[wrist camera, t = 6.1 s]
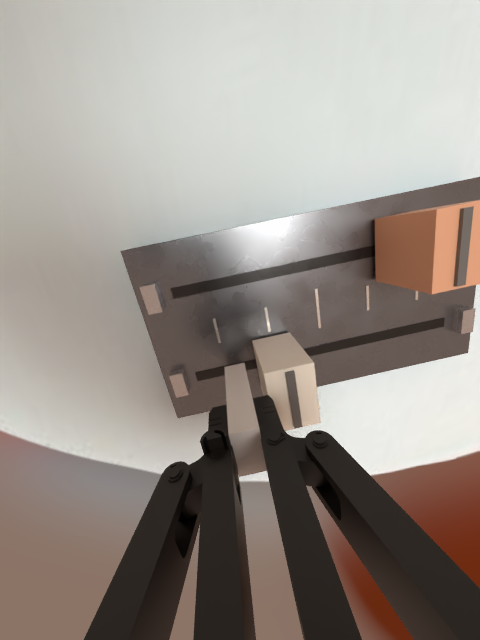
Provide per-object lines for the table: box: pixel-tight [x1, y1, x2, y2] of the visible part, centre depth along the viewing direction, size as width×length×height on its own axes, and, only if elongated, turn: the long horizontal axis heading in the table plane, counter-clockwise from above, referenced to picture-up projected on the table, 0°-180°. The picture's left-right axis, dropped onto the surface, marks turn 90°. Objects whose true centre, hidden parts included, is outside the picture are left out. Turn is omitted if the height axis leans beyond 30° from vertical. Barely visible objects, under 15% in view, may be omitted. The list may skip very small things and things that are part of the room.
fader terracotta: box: [375, 200, 480, 294], centre depth 15 cm, size 3×4×5 cm
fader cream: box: [252, 332, 321, 431], centre depth 17 cm, size 3×4×5 cm
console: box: [121, 177, 480, 418], centre depth 19 cm, size 26×14×3 cm, turn 101°
